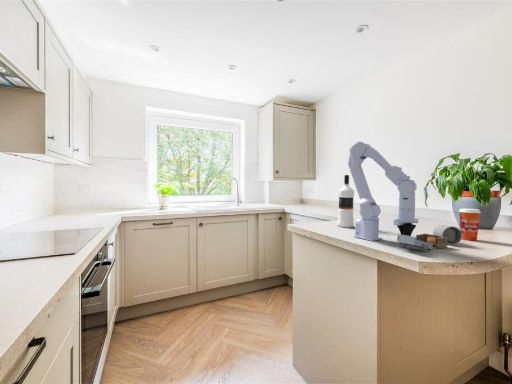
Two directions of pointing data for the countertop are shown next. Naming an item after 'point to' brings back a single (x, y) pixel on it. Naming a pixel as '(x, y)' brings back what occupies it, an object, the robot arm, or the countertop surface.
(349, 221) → the vodka
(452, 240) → the ceramic mug
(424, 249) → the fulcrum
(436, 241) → the pocket
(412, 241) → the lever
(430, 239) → the ball
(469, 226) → the paper cup
